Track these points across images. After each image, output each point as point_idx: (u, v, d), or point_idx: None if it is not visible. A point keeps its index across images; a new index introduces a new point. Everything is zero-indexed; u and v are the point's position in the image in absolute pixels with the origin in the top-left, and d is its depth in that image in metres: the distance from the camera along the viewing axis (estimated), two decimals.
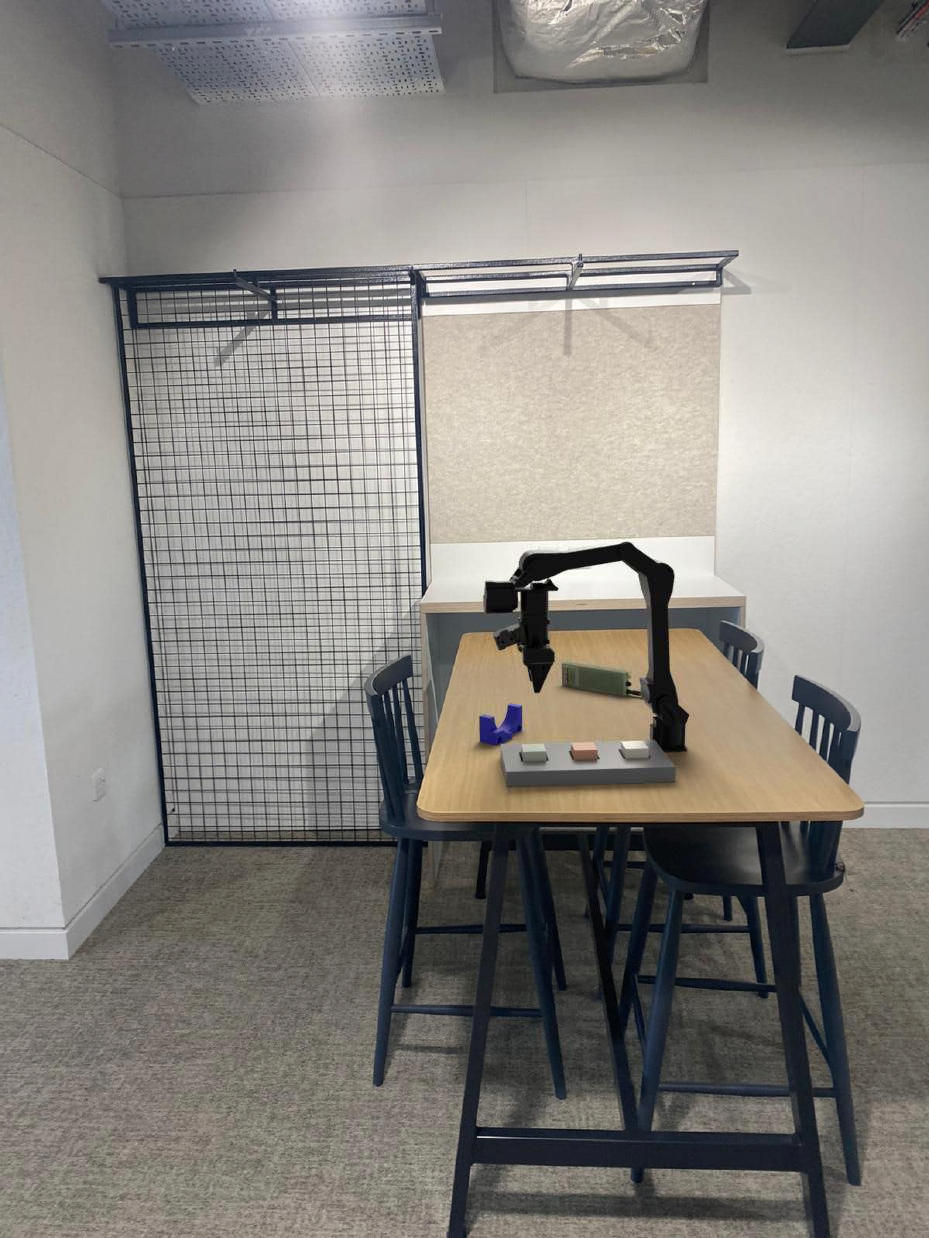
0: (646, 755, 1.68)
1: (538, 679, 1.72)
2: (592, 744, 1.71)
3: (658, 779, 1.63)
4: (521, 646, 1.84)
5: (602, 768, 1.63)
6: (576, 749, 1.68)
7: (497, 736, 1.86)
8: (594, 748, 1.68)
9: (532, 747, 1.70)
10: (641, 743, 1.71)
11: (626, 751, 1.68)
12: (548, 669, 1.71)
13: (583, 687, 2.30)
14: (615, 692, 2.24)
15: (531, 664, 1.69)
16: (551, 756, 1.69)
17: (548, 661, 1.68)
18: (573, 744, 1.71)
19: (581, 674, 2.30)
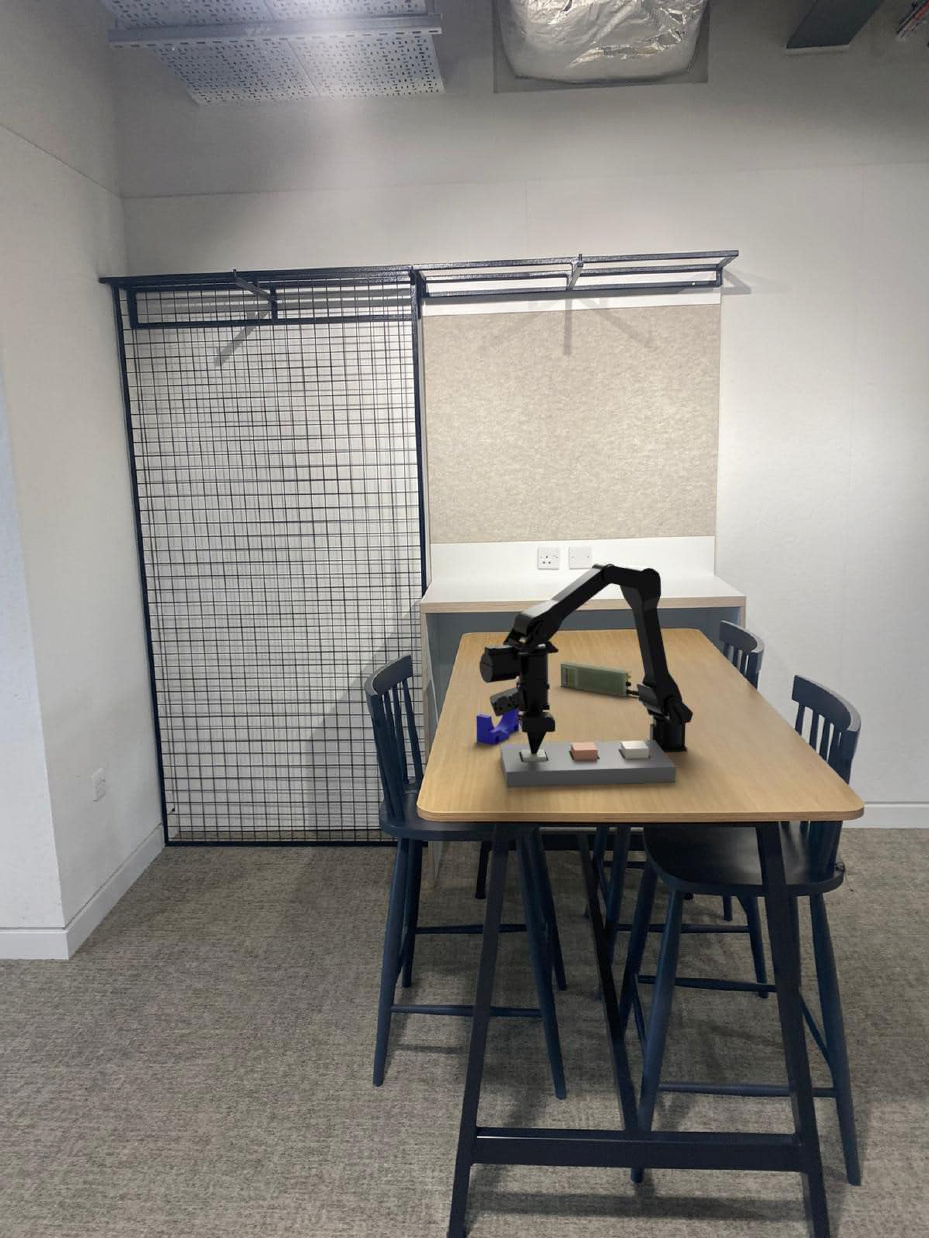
0: (646, 755, 1.68)
1: (535, 740, 1.68)
2: (592, 744, 1.71)
3: (658, 779, 1.63)
4: (521, 715, 1.71)
5: (602, 768, 1.63)
6: (576, 749, 1.68)
7: (494, 736, 1.86)
8: (594, 748, 1.68)
9: None
10: (641, 743, 1.71)
11: (626, 751, 1.68)
12: None
13: (582, 687, 2.29)
14: (615, 693, 2.24)
15: None
16: (551, 756, 1.69)
17: (548, 730, 1.59)
18: (573, 744, 1.71)
19: (580, 675, 2.29)
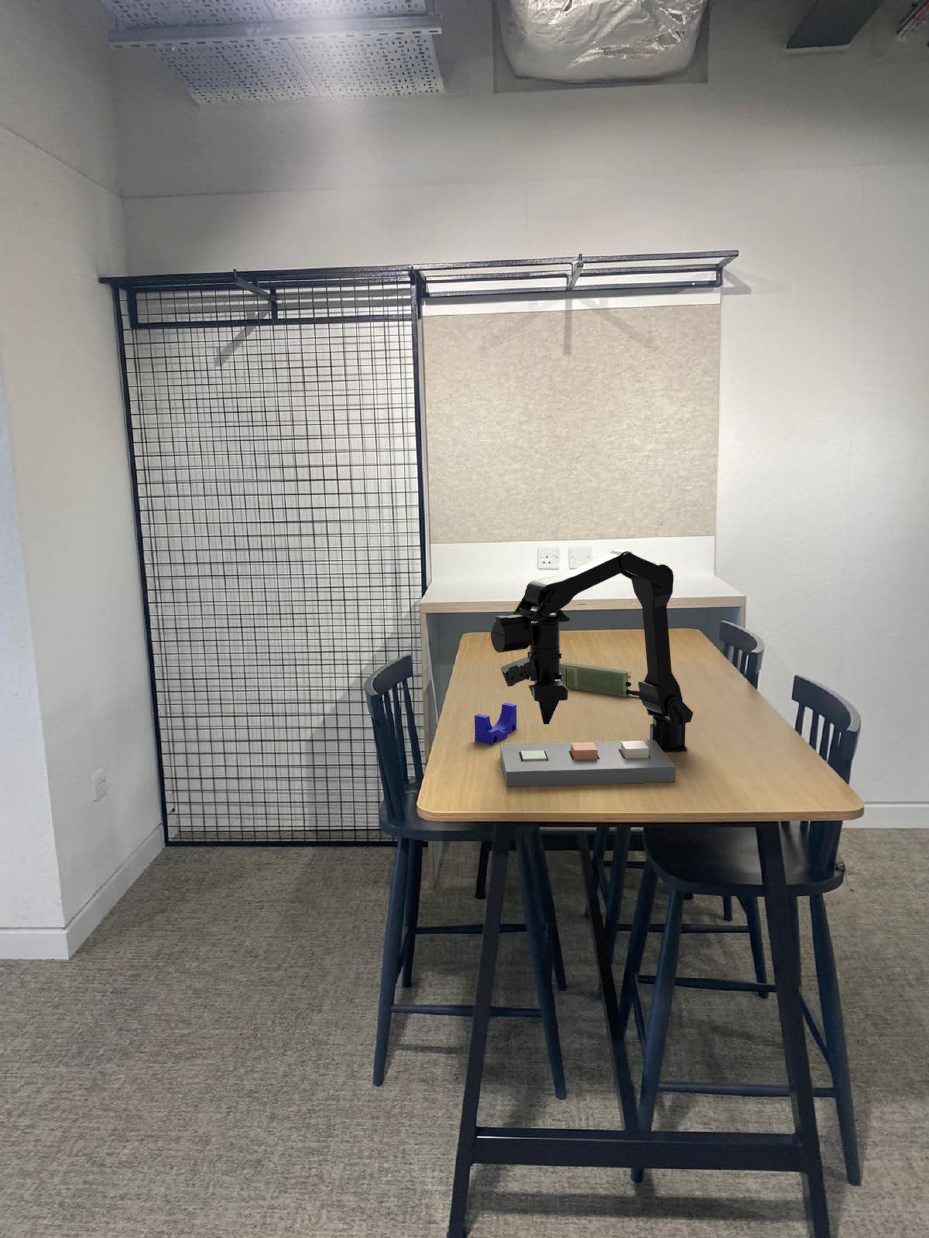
0: (646, 755, 1.68)
1: (547, 710, 1.67)
2: (592, 744, 1.71)
3: (658, 779, 1.63)
4: (533, 685, 1.70)
5: (602, 768, 1.63)
6: (576, 749, 1.68)
7: (492, 735, 1.87)
8: (594, 748, 1.68)
9: (532, 754, 1.70)
10: (641, 743, 1.71)
11: (626, 751, 1.68)
12: None
13: (582, 688, 2.29)
14: (614, 693, 2.23)
15: None
16: (551, 756, 1.69)
17: (561, 699, 1.58)
18: (573, 744, 1.71)
19: (580, 675, 2.29)
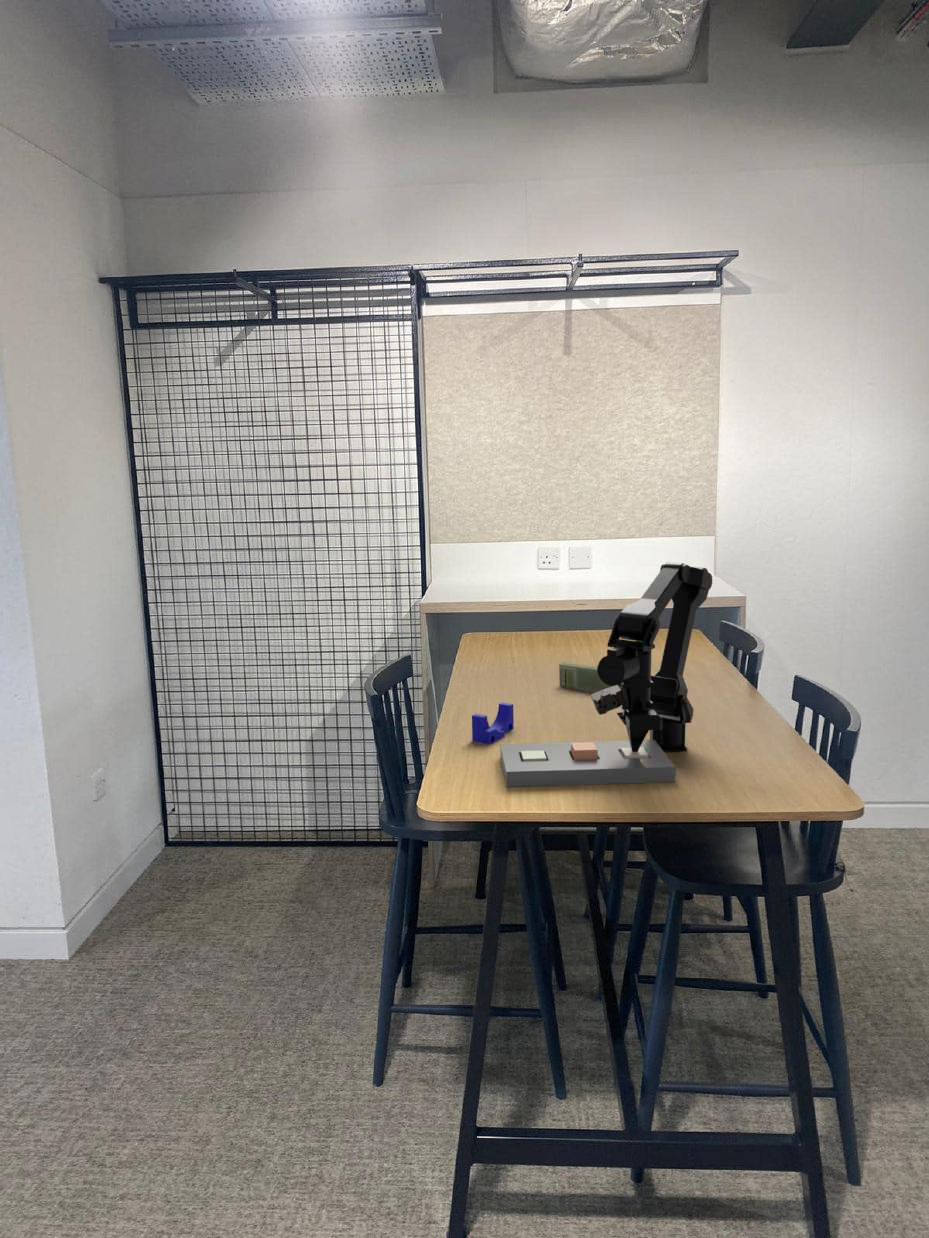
0: None
1: (637, 738, 1.69)
2: (592, 744, 1.71)
3: (658, 779, 1.63)
4: (621, 713, 1.71)
5: (602, 768, 1.63)
6: (576, 749, 1.68)
7: (490, 735, 1.87)
8: (594, 748, 1.68)
9: (532, 754, 1.70)
10: (641, 749, 1.71)
11: (626, 758, 1.68)
12: None
13: (581, 688, 2.29)
14: None
15: None
16: (551, 756, 1.69)
17: (656, 728, 1.60)
18: (573, 744, 1.71)
19: (579, 675, 2.28)
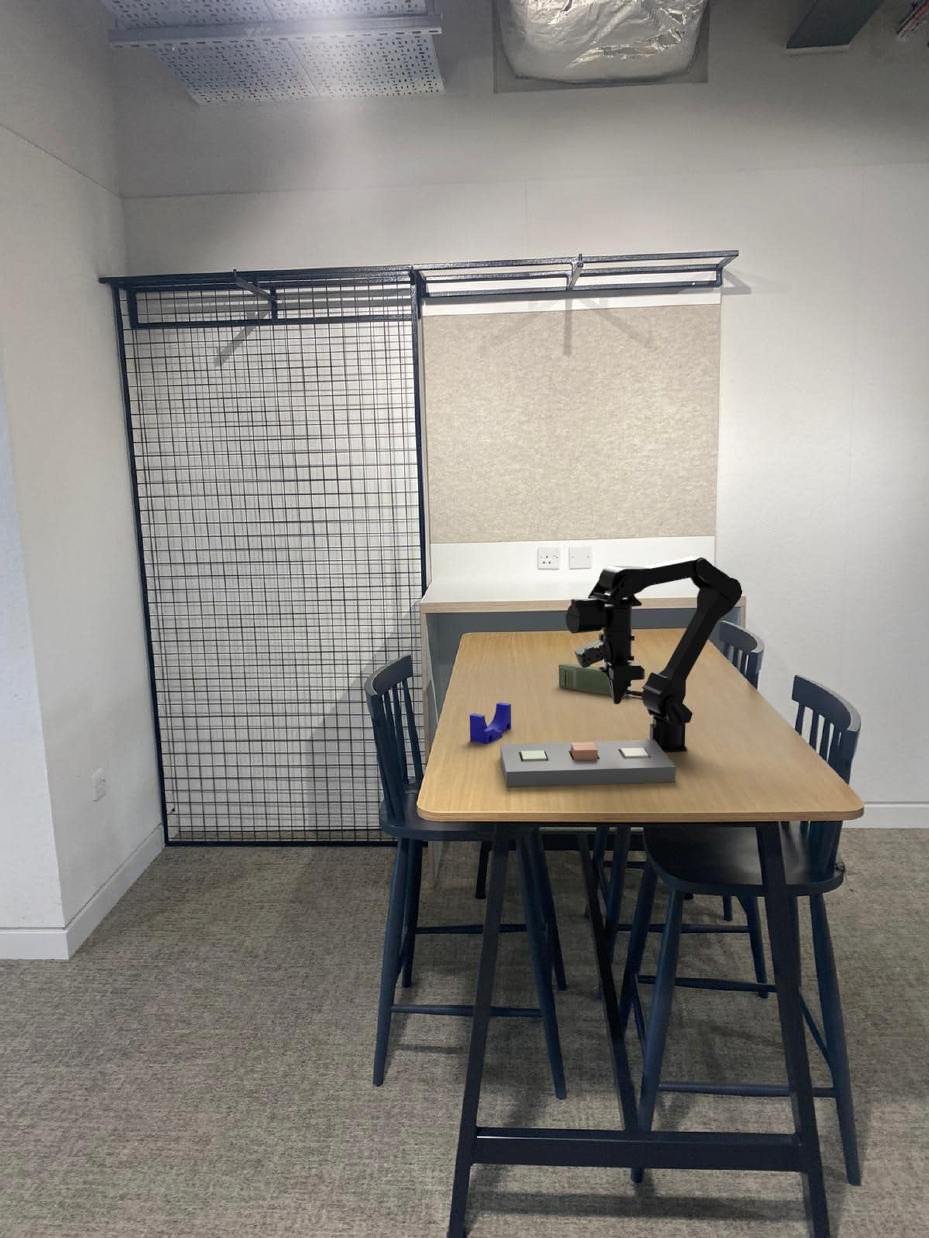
0: None
1: (619, 690, 1.75)
2: (592, 744, 1.71)
3: (658, 779, 1.63)
4: (603, 667, 1.78)
5: (602, 768, 1.63)
6: (576, 749, 1.68)
7: (488, 735, 1.87)
8: (594, 748, 1.68)
9: (532, 754, 1.70)
10: (641, 750, 1.71)
11: (626, 758, 1.68)
12: (629, 680, 1.74)
13: (581, 688, 2.29)
14: None
15: None
16: (551, 756, 1.69)
17: (638, 678, 1.66)
18: (573, 744, 1.71)
19: (579, 676, 2.28)
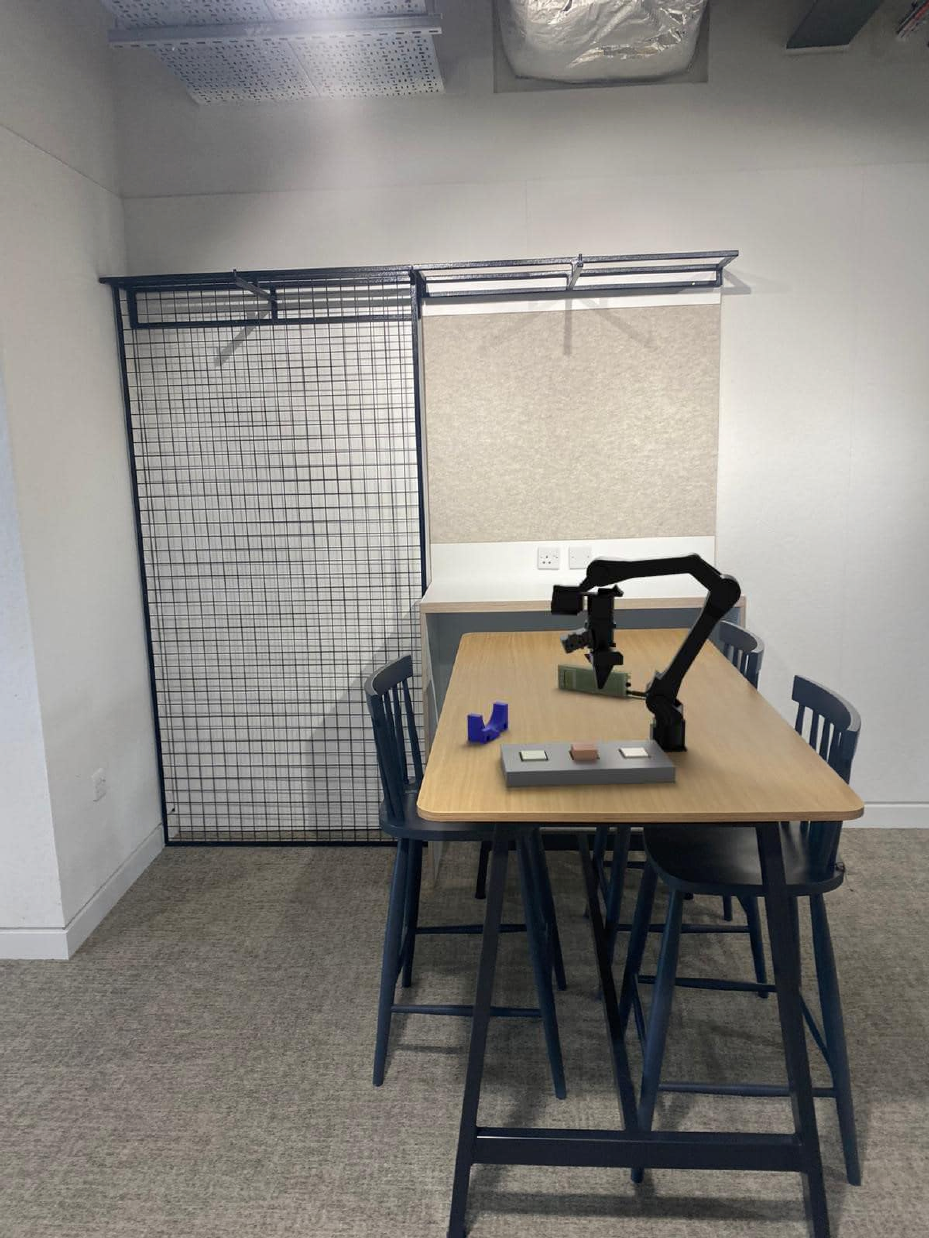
0: None
1: (602, 676, 1.83)
2: (592, 744, 1.71)
3: (658, 779, 1.63)
4: (588, 654, 1.85)
5: (602, 768, 1.63)
6: (576, 749, 1.68)
7: (486, 734, 1.87)
8: (594, 748, 1.68)
9: (532, 754, 1.70)
10: (641, 750, 1.71)
11: (626, 758, 1.68)
12: (612, 666, 1.81)
13: (581, 689, 2.28)
14: (614, 693, 2.23)
15: None
16: (551, 756, 1.69)
17: (617, 664, 1.74)
18: (573, 744, 1.71)
19: (578, 676, 2.28)
